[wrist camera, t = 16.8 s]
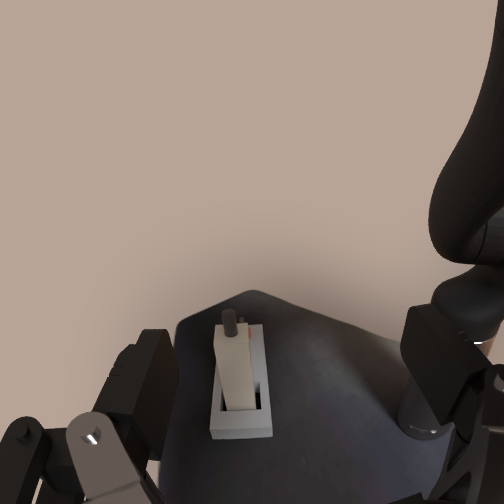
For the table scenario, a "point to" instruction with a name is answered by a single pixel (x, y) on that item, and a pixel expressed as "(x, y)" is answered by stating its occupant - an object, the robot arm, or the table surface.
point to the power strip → (247, 420)
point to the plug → (234, 362)
